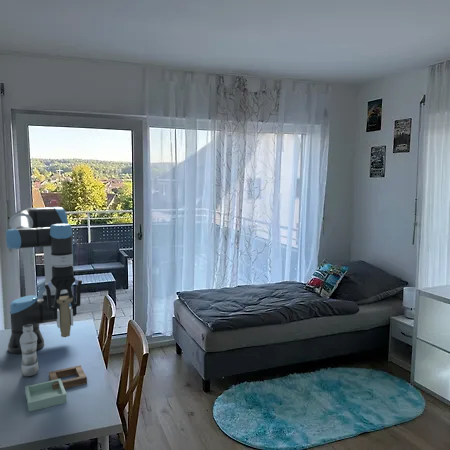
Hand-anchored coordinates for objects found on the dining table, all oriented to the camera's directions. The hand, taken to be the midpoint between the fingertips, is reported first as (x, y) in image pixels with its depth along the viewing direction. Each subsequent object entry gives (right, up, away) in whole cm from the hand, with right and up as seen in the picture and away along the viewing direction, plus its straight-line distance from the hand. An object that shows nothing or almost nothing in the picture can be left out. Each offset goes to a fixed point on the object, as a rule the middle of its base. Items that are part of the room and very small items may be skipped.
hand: (65, 325), depth 159 cm
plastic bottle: (-17, -22, +7) cm, 28 cm away
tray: (-3, -23, -11) cm, 26 cm away
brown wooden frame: (0, -22, +2) cm, 22 cm away
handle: (0, -4, 0) cm, 4 cm away
